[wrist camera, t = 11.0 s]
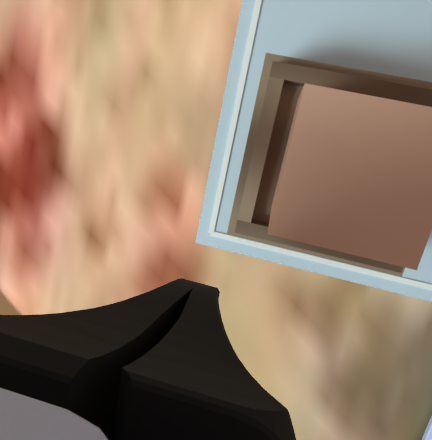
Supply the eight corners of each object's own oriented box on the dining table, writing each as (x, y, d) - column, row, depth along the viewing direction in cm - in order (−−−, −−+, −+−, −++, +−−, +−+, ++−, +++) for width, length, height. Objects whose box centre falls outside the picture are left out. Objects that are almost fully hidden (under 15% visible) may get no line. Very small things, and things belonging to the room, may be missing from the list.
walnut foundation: (381, 252, 19) (407, 283, 15) (235, 218, 20) (223, 238, 16) (433, 98, 17) (480, 86, 13) (268, 68, 18) (265, 47, 14)
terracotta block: (375, 229, 16) (416, 270, 11) (271, 205, 16) (267, 234, 11) (410, 122, 15) (474, 114, 10) (297, 100, 15) (304, 83, 10)
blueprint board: (437, 297, 20) (446, 306, 19) (199, 237, 22) (194, 243, 21) (573, -46, 16) (593, -59, 15) (262, -86, 18) (261, -101, 17)
